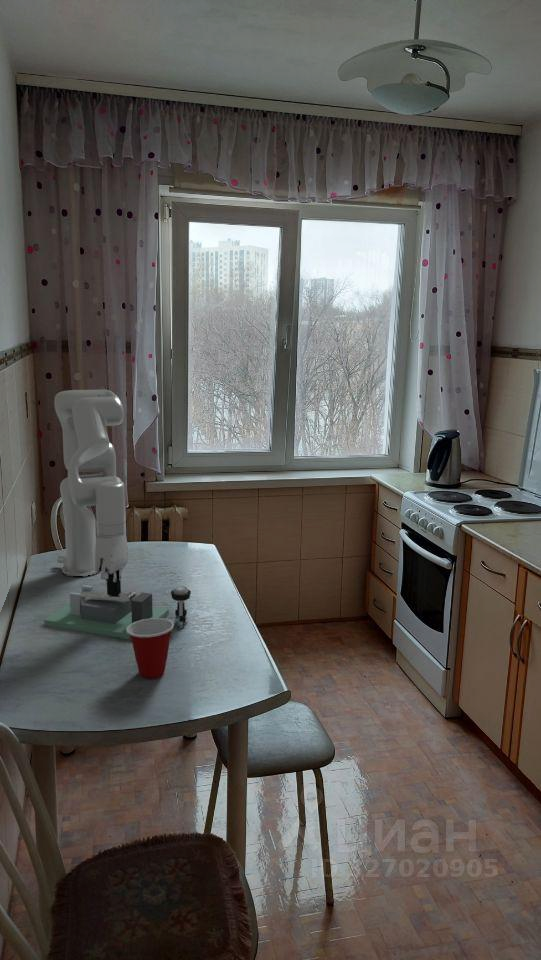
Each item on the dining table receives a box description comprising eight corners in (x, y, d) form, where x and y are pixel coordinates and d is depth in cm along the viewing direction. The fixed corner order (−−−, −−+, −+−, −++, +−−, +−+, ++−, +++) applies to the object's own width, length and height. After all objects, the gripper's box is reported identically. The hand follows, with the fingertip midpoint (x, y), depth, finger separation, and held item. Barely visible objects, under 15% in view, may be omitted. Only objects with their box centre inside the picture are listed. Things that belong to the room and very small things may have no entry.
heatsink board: (44, 624, 188) (42, 596, 186) (81, 600, 205) (80, 574, 203) (137, 640, 180) (137, 611, 178) (169, 614, 197) (168, 587, 195)
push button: (190, 629, 187) (190, 593, 185) (170, 629, 187) (170, 594, 184) (190, 619, 194) (190, 584, 191) (171, 619, 193) (170, 585, 191)
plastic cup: (153, 657, 171) (152, 611, 168) (184, 671, 164) (183, 624, 162) (117, 674, 163) (116, 625, 160) (148, 689, 156) (147, 639, 153)
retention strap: (75, 599, 192) (74, 592, 191) (84, 594, 196) (83, 586, 195) (129, 601, 186) (128, 593, 186) (137, 595, 190) (136, 588, 190)
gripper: (113, 520, 194) (115, 584, 198) (83, 534, 180) (86, 602, 184) (137, 523, 192) (139, 587, 195) (109, 537, 178) (112, 605, 181)
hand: (114, 594), depth 189 cm, fingers closed
